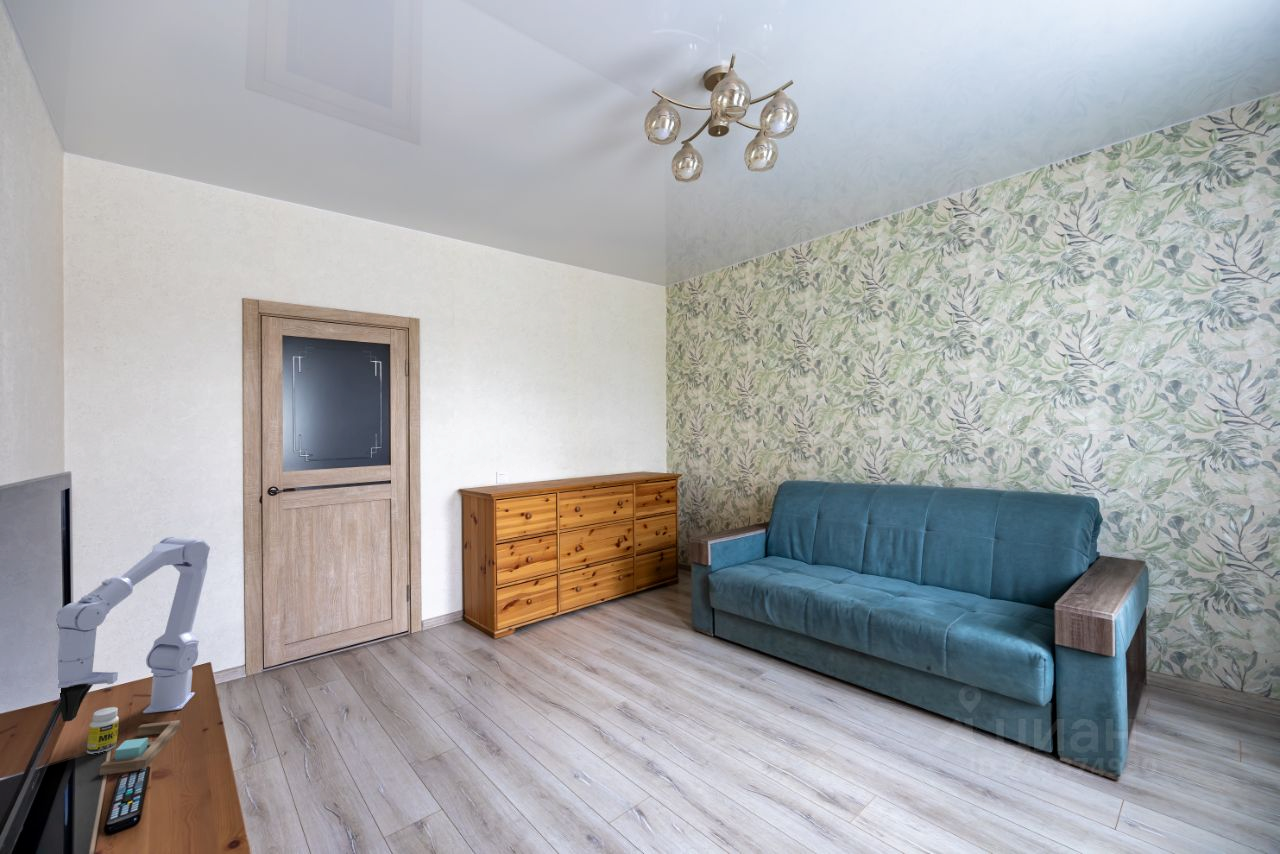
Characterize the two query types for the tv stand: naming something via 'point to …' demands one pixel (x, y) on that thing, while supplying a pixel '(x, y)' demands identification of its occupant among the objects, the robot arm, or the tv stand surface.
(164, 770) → the tv stand surface
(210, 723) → the tv stand surface
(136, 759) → the frame
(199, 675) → the tv stand surface
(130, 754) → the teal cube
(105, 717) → the supplement bottle
